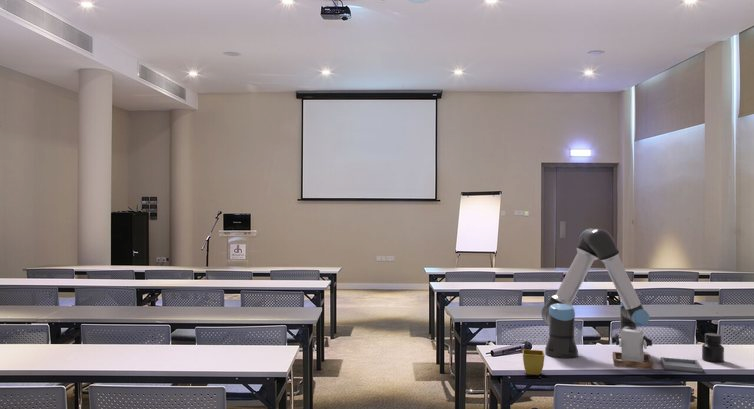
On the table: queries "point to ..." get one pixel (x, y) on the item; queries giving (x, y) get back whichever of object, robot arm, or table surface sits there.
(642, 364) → the wooden tray
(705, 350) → the ink bottle
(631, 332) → the skincare box
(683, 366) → the tray
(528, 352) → the flower pot
